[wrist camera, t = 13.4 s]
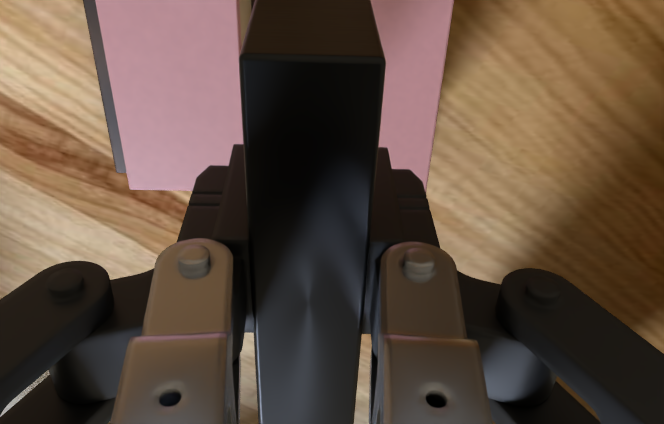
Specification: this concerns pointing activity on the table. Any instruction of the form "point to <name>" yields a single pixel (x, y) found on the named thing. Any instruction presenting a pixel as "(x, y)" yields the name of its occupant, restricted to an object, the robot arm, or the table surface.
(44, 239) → the table surface
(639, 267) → the table surface
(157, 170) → the cake
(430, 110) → the slice
